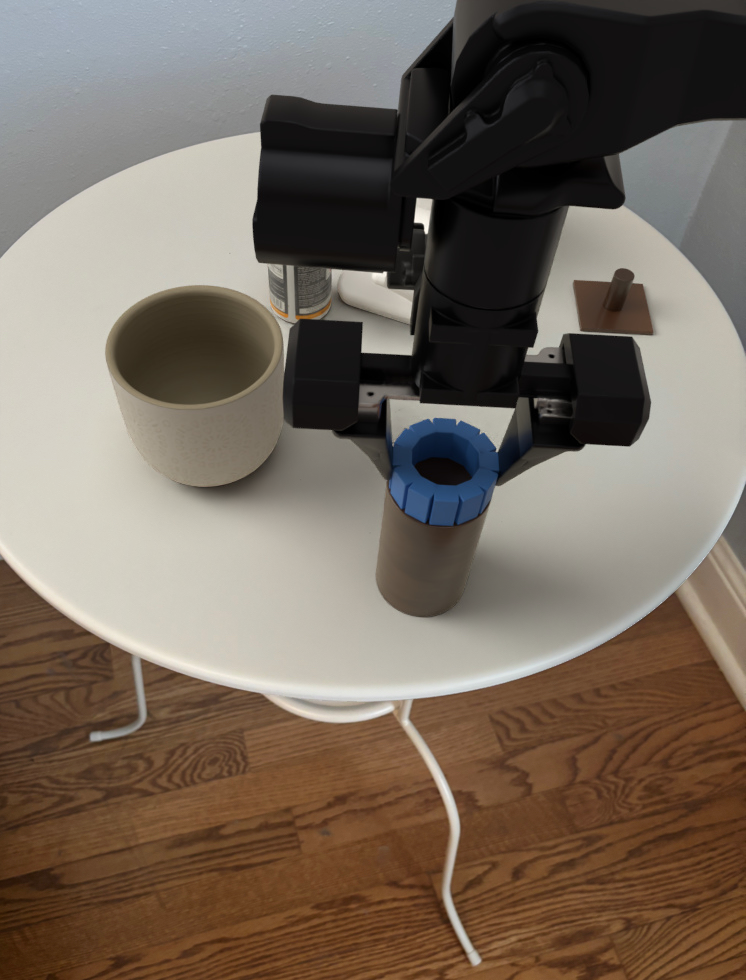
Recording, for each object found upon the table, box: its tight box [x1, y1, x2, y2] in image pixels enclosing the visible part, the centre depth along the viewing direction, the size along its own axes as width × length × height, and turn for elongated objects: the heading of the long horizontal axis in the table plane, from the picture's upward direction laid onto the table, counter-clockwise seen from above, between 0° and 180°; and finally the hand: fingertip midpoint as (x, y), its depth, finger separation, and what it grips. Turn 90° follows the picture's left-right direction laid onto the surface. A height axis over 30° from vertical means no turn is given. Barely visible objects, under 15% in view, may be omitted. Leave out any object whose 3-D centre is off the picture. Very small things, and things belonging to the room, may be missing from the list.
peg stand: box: [572, 267, 655, 336], centre depth 76 cm, size 7×7×4 cm
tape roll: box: [389, 417, 499, 526], centre depth 51 cm, size 6×6×2 cm
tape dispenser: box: [336, 198, 432, 326], centre depth 76 cm, size 20×11×13 cm, turn 156°
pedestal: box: [375, 457, 493, 618], centre depth 57 cm, size 7×7×11 cm
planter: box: [104, 284, 285, 488], centre depth 63 cm, size 12×12×11 cm
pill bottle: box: [267, 264, 333, 324], centre depth 73 cm, size 6×6×10 cm
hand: (442, 477), depth 51 cm, fingers closed on tape roll, 6 cm apart
